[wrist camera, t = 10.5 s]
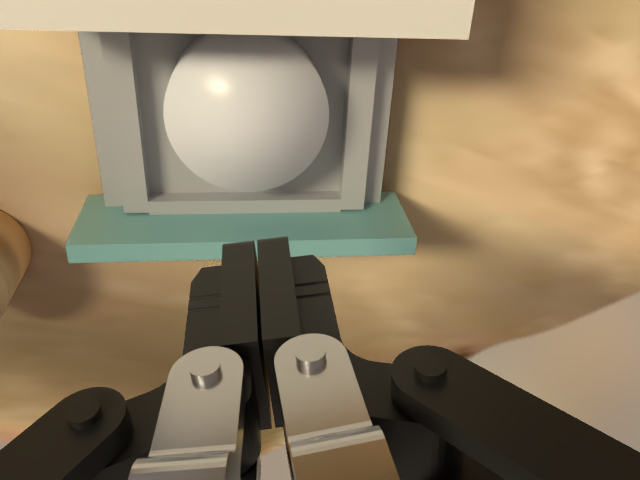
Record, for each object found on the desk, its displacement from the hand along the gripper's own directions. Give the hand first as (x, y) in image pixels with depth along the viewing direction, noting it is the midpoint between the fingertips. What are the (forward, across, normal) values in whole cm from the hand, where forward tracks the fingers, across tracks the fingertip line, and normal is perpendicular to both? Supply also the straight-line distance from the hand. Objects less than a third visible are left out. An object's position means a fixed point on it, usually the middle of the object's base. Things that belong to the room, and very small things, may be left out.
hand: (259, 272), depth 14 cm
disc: (+12, 0, 0) cm, 12 cm away
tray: (+13, 0, -1) cm, 13 cm away
